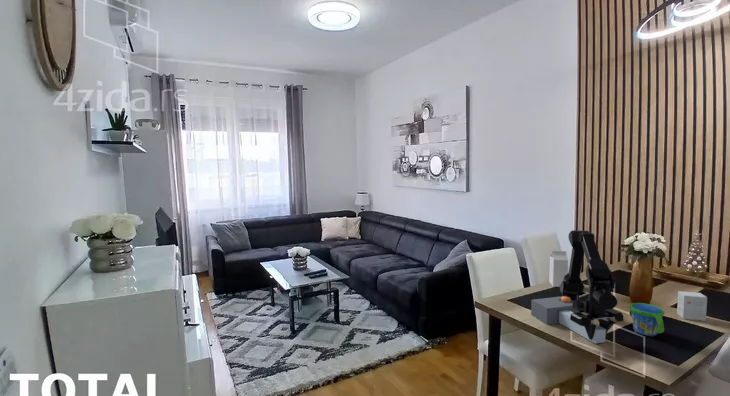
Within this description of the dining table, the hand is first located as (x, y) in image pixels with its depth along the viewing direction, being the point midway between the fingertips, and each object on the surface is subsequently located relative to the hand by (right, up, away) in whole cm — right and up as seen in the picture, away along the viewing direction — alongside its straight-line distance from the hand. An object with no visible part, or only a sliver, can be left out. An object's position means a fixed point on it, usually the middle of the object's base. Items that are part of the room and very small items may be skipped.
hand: (595, 338), depth 138 cm
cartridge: (-2, 0, +7) cm, 7 cm away
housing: (-5, +1, +21) cm, 22 cm away
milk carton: (+18, +5, +62) cm, 65 cm away
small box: (+52, +2, +18) cm, 55 cm away
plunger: (+1, +6, +22) cm, 23 cm away
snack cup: (+23, 0, +6) cm, 24 cm away
